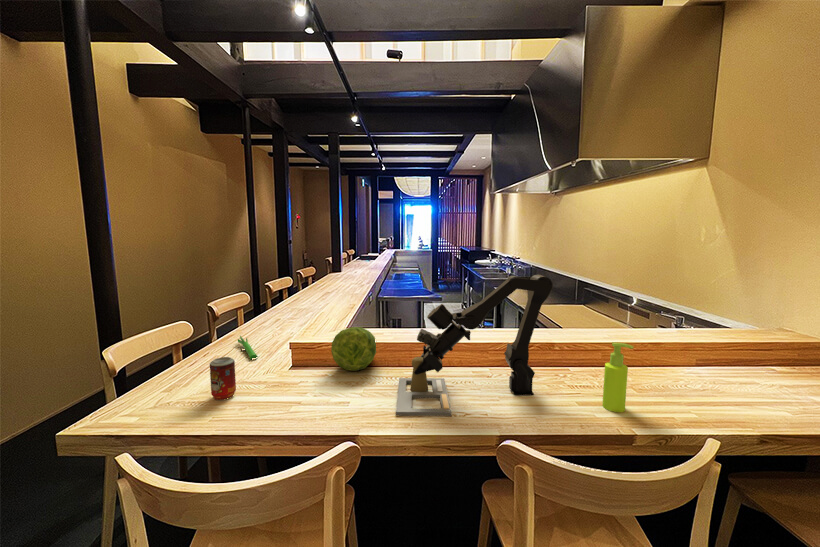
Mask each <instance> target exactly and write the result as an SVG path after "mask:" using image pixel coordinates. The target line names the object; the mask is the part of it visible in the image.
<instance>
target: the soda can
mask: <svg viewBox="0 0 820 547" xmlns="http://www.w3.org/2000/svg"><path fill="white" fill-rule="evenodd" d="M235 363H236V362H235V358H232V357H229V356H222V357H217V358H214V359H212V360H211V361H210V362H209V378H210V379H209V380H210V393H211V396H212V397H213V398H214V400H215V401H225V400H224V399H226V400H228V399H227V398H229V399H231V398H233V397H234V396H235V393H236V390H237V389H236V388H237V383H236V382H237V381H236V379H237V378H236V364H235ZM233 395H234V396H233ZM232 396H233V397H232ZM230 397H231V398H230Z"/></svg>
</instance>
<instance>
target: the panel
mask: <svg viewBox="0 0 820 547" xmlns="http://www.w3.org/2000/svg"><path fill="white" fill-rule="evenodd" d="M411 380H412V377H399V378H398V387H397V397H396V407H395V408H396V409H395V416H396V415H399V416H398V417H452V408H451V407H452V406H451V403H450V400H449V399H450V397H449V394H448V390H447V385H446V381H445V380H446V379H445V378H443V377H441V378H440V377H439V378H435V377H427V384H428V385H431V390H432V391H427V392H412V391H407V385H411ZM412 399H439V401H440V406H441V408H412V407H413V406H412V404H413V403H412V402H413V401H412Z"/></svg>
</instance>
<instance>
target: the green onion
mask: <svg viewBox="0 0 820 547" xmlns="http://www.w3.org/2000/svg"><path fill="white" fill-rule="evenodd" d="M245 340H246V341H245ZM237 343H239V344H241V345H242V346H243V347H242V348H244V349H245V350H244V351H246V354H247V356H248V357H249V359H250V360H251V359H252V358H256V357H259V356H258V354H257V353H256V352H255V351H254V349H253V348H252V346H251V345H250V344H249V342H248V337H246V339H244V338H243V337H242V336H241V335H239V338H237Z"/></svg>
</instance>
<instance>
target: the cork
mask: <svg viewBox="0 0 820 547" xmlns="http://www.w3.org/2000/svg"><path fill="white" fill-rule="evenodd" d="M422 361H423V357H421V356H416V357H413V358H412V360H411V367H412V375H411V378H412V380H411V384H410V392H429V386H428V385H429V384H427V378H428V377H427V372H424V373H420V374H417V375H416V374H415V373H414V371H415V370H416V369H417V367H418V366H419V365H420V363H421V362H422Z"/></svg>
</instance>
